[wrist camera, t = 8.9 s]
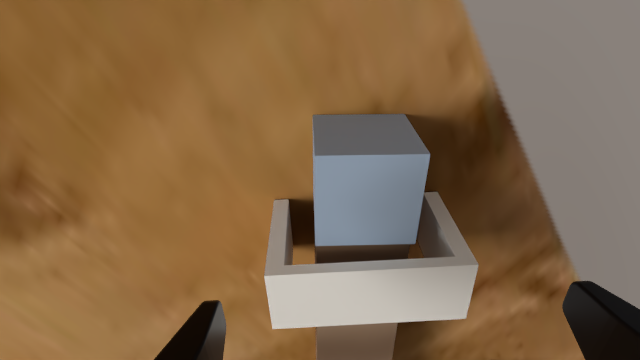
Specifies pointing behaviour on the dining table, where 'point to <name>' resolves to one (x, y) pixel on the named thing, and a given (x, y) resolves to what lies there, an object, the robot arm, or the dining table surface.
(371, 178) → the block
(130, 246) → the dining table surface
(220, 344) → the robot arm
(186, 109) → the dining table surface
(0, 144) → the dining table surface
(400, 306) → the tunnel
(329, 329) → the brown wooden bar
